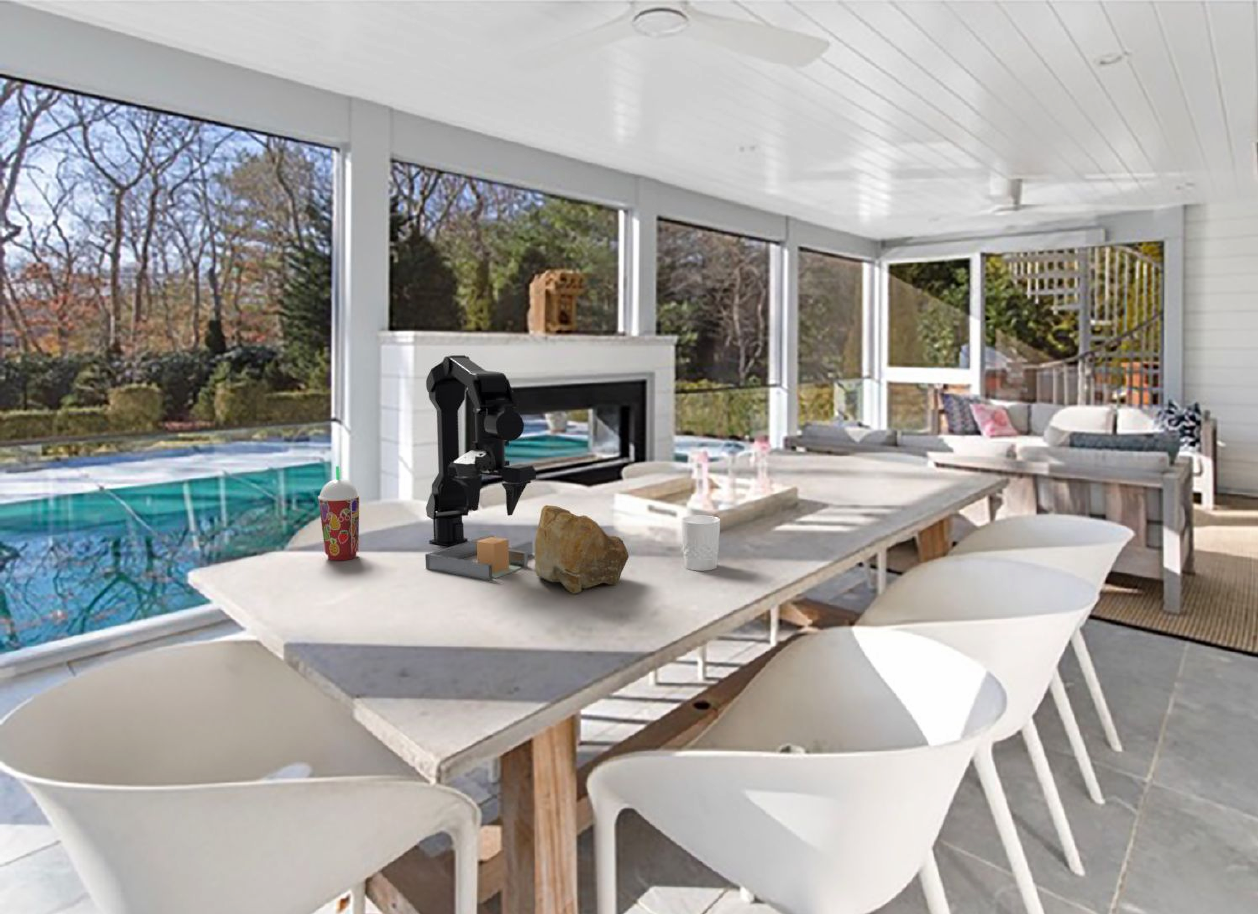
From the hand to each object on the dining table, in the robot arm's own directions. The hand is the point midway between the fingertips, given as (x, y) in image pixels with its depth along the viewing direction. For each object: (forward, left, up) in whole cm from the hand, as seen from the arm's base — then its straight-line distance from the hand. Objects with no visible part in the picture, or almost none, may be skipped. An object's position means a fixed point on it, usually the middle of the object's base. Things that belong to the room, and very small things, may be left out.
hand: (492, 512), depth 160 cm
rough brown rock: (+21, +2, -12) cm, 24 cm away
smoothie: (-35, -9, -12) cm, 38 cm away
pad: (0, 0, -12) cm, 12 cm away
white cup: (+35, +24, -12) cm, 44 cm away
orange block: (0, 0, -12) cm, 12 cm away
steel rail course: (-4, +4, -12) cm, 13 cm away
